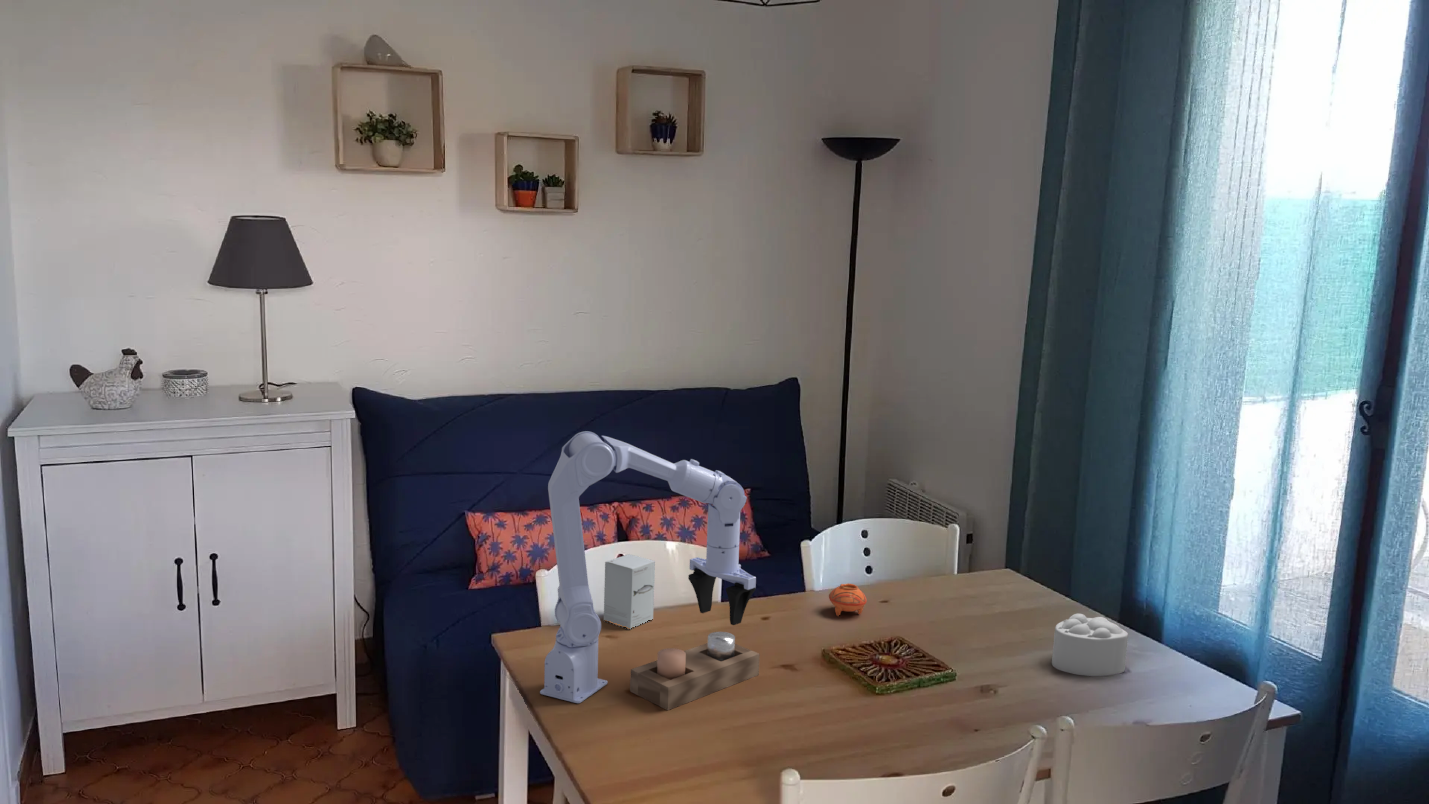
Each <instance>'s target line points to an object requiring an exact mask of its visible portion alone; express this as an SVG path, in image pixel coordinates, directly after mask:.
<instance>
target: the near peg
mask: <svg viewBox="0 0 1429 804" xmlns="http://www.w3.org/2000/svg"><path fill="white" fill-rule="evenodd" d="M684 651H685V650H682V649H680V648H673V647H672V648H663V649H660V650H659V651H658V652H657V660H656V661H657V674H658V675H660V676H663V677H665V678H667V679H669V680H672V679H675V678H677V677H680V676H683V675H685V664H686V653H685V652H684Z"/></svg>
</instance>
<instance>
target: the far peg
mask: <svg viewBox="0 0 1429 804" xmlns="http://www.w3.org/2000/svg"><path fill="white" fill-rule="evenodd" d="M735 640H736V636H735V635H734V634H732V633H731V632H727V631H715V632H710V633H709V634H708V635H707V643H708V651H707V656H709V657H711V658H714V659H716V660H718V661H724V660H727V659H729V658H732V657H734V649H735V644H736V641H735Z"/></svg>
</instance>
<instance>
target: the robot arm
mask: <svg viewBox="0 0 1429 804" xmlns="http://www.w3.org/2000/svg"><path fill="white" fill-rule="evenodd" d="M601 437H602V438H603V440H604V441H603V440H602V438H601ZM601 437H600V436H599V435H598V434H596V433H595V432H592V431H588V430H587V431H586V430H585V431H581V432H580V431H579V432H578V433H576V434H574V435H573V436H572V438H570V439H569V440H568V441H567V442H566V443H565V444H564V445H563V446H562V447H561V453H560V456H559V459H558V460H557V464H556V466H555V468H554V470H553V472H552V474H551V477H550V479H549V480H548V484H547V485H548V486H547V490H548V500H549V507H550V515H551V516H550V518H551V523H552V534H553V542H554V550H555V551H554V552H555V558H556V566H557V567H556V568H557V575H558V584H559V586H558V588H557V602H556V604H555V607H554V617H555V619H556V620H557V622H558V623H559V625H560V626H559V628H558V629H557V632H556V633H555V643H554V646H553V648H552V649H551V650H550V651H549V652H548V653H547V654H546V656H545V659H544V677H543V678H544V684H543V685H544V687H543V688H542V689H541V690H540V691H539V694H541V695H542V696H543V695H544V696H548V697H551V698H555V699H559V700H562V701H563V700H564V701H567V702H571V703H575V704H580V703H582V702H584V701H585V700H586V699H588V698H589V697H591V696H592V695H593V694H595V693H596V692H598V691H599V690H600V689H602V688H603V687H605V686H606V685H608V680H606V679H602V678H598V677H599V676H598V675H599V673H598V672H599V635H600V633H601V630H602V621H601V618H600V617H599V615H598V614H597V612H596V611H595V608H594V601H593V598H592V594H591V590H590V586H589V585H590V584H589V577H588V569H587V561H586V560H587V559H586V554H585V553H586V551H585V543H584V542H585V540H584V536H583V535H584V534H583V532H584V531H583V524H582V515H581V508H580V507H581V506H580V500H579V499H580V496H581V495H582V494H583V493H584V492H585V491H586V490H587V489H588V488H589V486H592V485H593V484H596V483H597V482H599V481H600V480H602V479H604V478H605V477H607V476H608V475H610V473H611V472H612V471H614V472H615V473H616V474H618V473H620V472H623V471H625V470H626V469H632V470H635V471H638V472H641V473H643V474H646V475H650V476H652V477H654V478H658V479H661V480H664V481H667V483H668V485H669V488H670V489H671V491H672V492H674V493H677V494H679V495H682V496H684V497H687V498H690V499H693V500H695V501H698V502H700V503H702V504H707V505H708V511H707V512H708V513H707V527H706V529H707V530H706V533H707V534H706V552H705V553H706V556H705V557H706V559H705V558H702V557H699V556H698V557H693V558H690V559H689V570H691V571H693V572H692V573H690V574H688V581H689V582H690V584H691V587H692V588H693V591H694V593H695V596H696V599H697V604H698V608H699V609H698V610H699V613H700V614H706V613H708V612H711V609H712V605H713V593H714V592H713V591H714V589H715V588H714V587H715V583H716V579H717V578H718V579H721V580H724V581H727V582H730V583H732V584H733V585H731V586H728V587H725V593H726V595H727V600H728V603H729V604H728V605H729V606H728V607H729V622H730V625H731V626H736V625H738V624H741V623H742V621H743V617H744V614H745V610H746V608H747V605H748V603H749V601H750V599H751V598H752V596H753V594H754V593H755V591H756V587H757V586H756V584H757V577H756V576H754V575H752V574H750V573H748V572H747V571H745V570H744V569H742V568H741V567H742V565H741V564H740V563H739V557H740V535H741V534H740V531H741V510H742V509H744V506H745V505H746V502H747V499H748V497H747V496H746V495H745V489H744V488H743V487H742V485H741V484H740V483H738V482H737V481H736V480H735V479H733V478H731V476H729V475H726V474H725V473H724V472H723V471H721V470H717V469H716V470H715V471H713V470H711V469H708V468H706V467H704V466H701V465H700V462H699V461H698V460H695V459H693V458H690V460H689V461H688V460H686V459H682V460H680V461H677V462H675V463H673V462H671V461H669V460H666V459H664V458H663V457H662V458H661V457H660V456H657V455H655V454H652V453H650V452H648V451H646V450H643V449H641V448H638V447H636V446H634V445H632V444H630V443H627V442H624V441H623V440H619V439H615V438H613V437H610V436H606V435H601Z"/></svg>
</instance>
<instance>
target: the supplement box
mask: <svg viewBox="0 0 1429 804" xmlns="http://www.w3.org/2000/svg"><path fill="white" fill-rule="evenodd" d="M655 566H656V561H655V560H652V559H649V558H646V557H642V556H638V555H634V554H630V553H629V554H628V553H627V554H625V555H622V556H620V557H616V558H613V559H610V560H607V561H605V562H604V587H603V588H604V590H603V591H604V592H603V593H604V594H603V595H604V596H603V600H604V601H603V621H604V620H607V621H611V622H613V623H617V624H620V625H622V626H626V627H628V628H630V630H632V629H633V628H632V627H634V628H636V627H638V626H641V625H643V624H646V623H648V622H649V621H648V620H652V619H653V620H654V606H655V603H654V602H655V579H656V578H655V576H656V575H655V574H656V573H655V570H656V567H655ZM653 620H652V621H653ZM647 621H648V622H647ZM645 622H646V623H645ZM642 623H643V624H642ZM640 624H641V625H640ZM635 626H636V627H635ZM631 628H632V629H631Z"/></svg>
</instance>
